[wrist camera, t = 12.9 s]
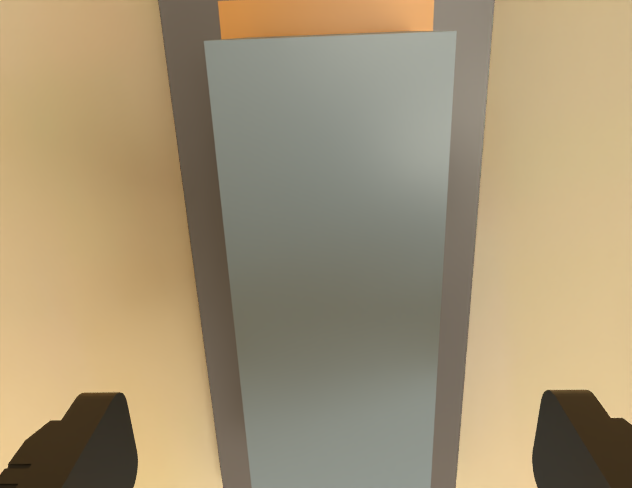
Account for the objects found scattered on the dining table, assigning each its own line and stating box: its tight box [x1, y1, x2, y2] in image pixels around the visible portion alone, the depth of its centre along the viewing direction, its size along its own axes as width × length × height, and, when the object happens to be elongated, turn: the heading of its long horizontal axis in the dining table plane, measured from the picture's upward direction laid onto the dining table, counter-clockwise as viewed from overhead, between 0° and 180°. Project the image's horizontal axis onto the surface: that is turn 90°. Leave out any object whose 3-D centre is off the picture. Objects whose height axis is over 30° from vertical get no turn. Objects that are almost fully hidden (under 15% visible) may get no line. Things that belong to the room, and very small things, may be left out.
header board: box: [158, 0, 495, 488], centre depth 18 cm, size 24×10×6 cm, turn 2°
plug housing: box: [204, 31, 457, 488], centre depth 17 cm, size 21×5×6 cm, turn 2°
